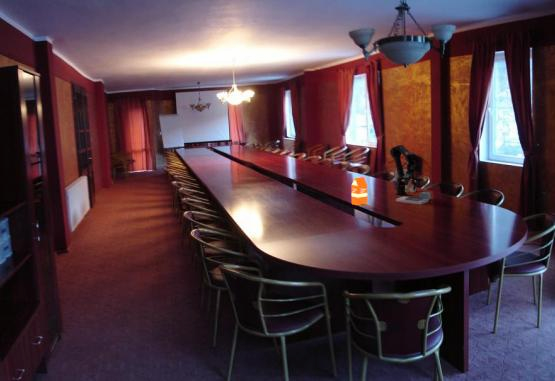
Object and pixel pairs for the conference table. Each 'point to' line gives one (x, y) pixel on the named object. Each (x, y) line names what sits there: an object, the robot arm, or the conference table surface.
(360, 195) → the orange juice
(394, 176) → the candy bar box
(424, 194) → the teal block
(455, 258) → the conference table surface
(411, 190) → the birch block
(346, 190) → the conference table surface
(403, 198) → the grey tray
